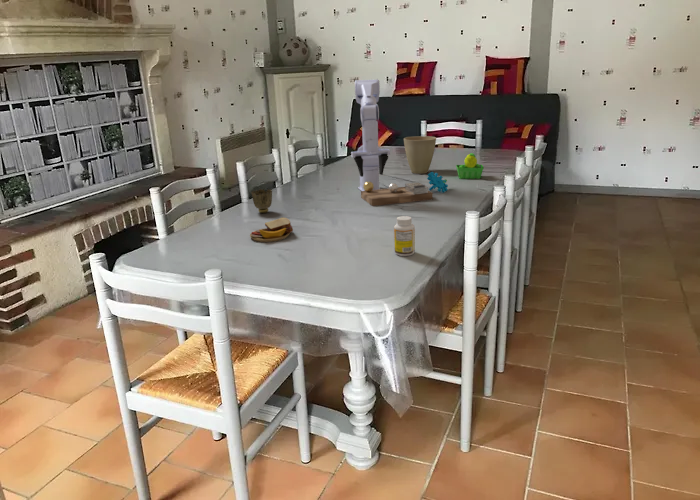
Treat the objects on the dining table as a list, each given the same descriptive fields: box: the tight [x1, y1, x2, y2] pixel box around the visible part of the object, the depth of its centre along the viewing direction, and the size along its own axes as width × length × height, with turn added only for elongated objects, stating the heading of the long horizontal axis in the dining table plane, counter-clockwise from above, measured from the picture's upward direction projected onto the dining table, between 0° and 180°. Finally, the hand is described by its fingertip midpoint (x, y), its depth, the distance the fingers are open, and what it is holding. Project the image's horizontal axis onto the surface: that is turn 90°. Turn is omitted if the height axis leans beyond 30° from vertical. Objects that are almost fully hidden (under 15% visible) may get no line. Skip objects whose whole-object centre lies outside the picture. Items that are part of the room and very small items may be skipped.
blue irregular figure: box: [426, 171, 449, 193], centre depth 225 cm, size 11×6×10 cm
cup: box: [251, 188, 273, 214], centre depth 203 cm, size 8×7×8 cm
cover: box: [404, 181, 429, 194], centre depth 214 cm, size 10×6×3 cm, turn 15°
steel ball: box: [388, 182, 399, 192], centre depth 214 cm, size 4×4×4 cm
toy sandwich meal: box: [249, 217, 294, 243], centre depth 175 cm, size 12×14×5 cm
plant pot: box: [403, 135, 437, 175], centre depth 260 cm, size 15×15×16 cm
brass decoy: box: [363, 181, 374, 192], centre depth 217 cm, size 4×4×4 cm
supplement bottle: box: [393, 215, 416, 257], centre depth 154 cm, size 6×6×10 cm
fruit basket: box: [455, 152, 485, 180], centre depth 245 cm, size 11×9×11 cm
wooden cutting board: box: [360, 186, 434, 207], centre depth 215 cm, size 14×24×2 cm, turn 105°
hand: (371, 175), depth 211 cm, fingers open, 7 cm apart
